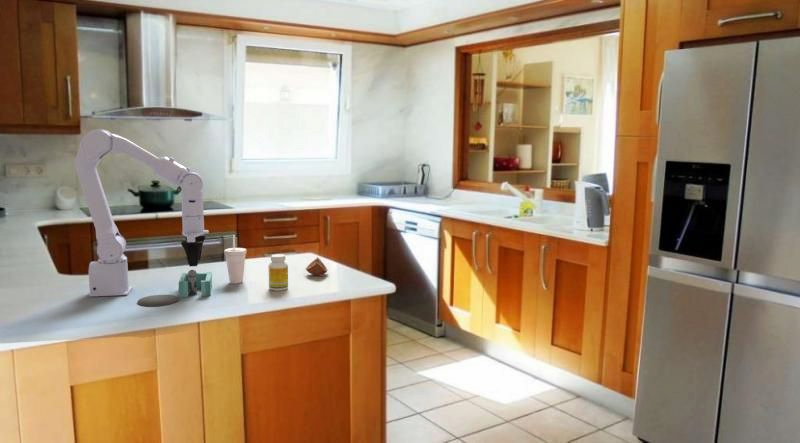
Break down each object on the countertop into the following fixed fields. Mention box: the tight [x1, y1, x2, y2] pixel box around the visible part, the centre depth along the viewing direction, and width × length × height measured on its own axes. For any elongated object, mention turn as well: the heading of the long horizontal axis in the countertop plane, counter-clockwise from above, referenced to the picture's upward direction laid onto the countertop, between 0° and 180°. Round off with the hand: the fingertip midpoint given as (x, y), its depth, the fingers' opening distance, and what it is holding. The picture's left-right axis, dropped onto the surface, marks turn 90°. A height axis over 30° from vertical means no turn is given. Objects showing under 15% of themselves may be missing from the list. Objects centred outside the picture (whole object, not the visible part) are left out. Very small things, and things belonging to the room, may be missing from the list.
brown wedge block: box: [305, 257, 328, 276], centre depth 196 cm, size 8×7×5 cm
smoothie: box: [223, 234, 247, 284], centre depth 185 cm, size 6×6×14 cm
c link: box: [178, 271, 213, 298], centre depth 175 cm, size 8×11×4 cm
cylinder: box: [187, 269, 198, 296], centre depth 172 cm, size 2×2×7 cm
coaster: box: [137, 294, 180, 307], centre depth 165 cm, size 10×10×1 cm
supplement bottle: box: [268, 253, 289, 292], centre depth 178 cm, size 5×5×10 cm
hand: (194, 263), depth 178 cm, fingers open, 7 cm apart
